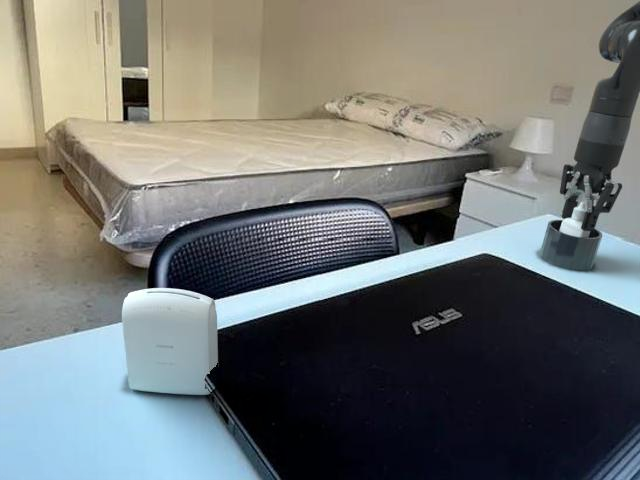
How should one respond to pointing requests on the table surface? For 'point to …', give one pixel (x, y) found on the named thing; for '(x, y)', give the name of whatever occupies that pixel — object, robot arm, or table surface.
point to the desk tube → (569, 248)
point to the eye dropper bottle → (575, 223)
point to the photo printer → (169, 340)
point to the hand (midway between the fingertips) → (576, 224)
